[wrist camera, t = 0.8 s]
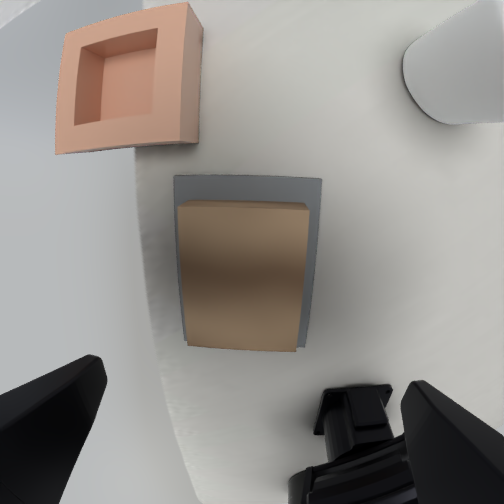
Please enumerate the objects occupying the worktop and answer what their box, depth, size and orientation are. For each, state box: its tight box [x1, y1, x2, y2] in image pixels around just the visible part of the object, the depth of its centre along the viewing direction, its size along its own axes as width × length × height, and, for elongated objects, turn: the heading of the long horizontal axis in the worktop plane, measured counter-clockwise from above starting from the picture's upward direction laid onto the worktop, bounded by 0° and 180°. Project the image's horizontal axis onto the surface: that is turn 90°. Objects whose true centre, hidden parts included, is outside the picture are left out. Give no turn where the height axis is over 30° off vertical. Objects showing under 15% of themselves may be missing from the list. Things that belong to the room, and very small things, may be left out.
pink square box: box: [55, 2, 203, 155], centre depth 14 cm, size 8×8×4 cm
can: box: [403, 0, 504, 124], centre depth 9 cm, size 6×6×12 cm
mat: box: [174, 175, 322, 347], centre depth 19 cm, size 12×9×1 cm
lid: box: [177, 200, 310, 352], centre depth 18 cm, size 9×7×2 cm
